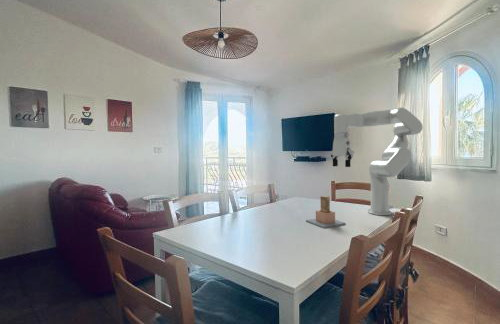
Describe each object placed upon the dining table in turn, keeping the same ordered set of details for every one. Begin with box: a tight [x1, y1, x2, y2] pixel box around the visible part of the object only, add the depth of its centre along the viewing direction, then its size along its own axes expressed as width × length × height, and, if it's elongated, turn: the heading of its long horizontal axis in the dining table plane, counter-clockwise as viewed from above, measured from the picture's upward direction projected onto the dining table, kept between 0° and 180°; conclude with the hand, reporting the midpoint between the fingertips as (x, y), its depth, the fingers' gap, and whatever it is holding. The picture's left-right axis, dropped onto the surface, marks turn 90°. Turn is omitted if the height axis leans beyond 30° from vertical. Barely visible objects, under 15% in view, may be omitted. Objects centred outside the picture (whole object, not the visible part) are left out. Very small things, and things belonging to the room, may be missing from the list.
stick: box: [320, 195, 331, 213], centre depth 136 cm, size 3×3×12 cm
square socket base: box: [305, 209, 347, 229], centre depth 136 cm, size 14×14×6 cm
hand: (341, 166), depth 149 cm, fingers open, 9 cm apart
